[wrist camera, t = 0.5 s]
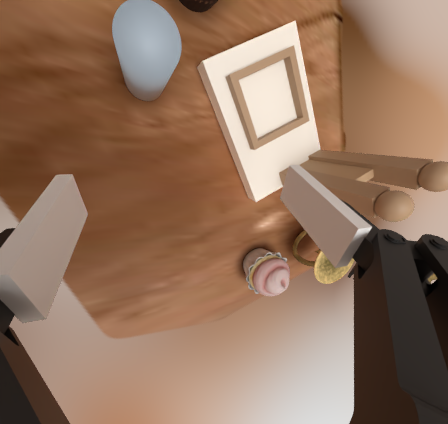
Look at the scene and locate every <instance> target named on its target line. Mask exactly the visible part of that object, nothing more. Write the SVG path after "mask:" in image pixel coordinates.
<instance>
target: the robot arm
mask: <svg viewBox="0 0 448 424" xmlns="http://www.w3.org/2000/svg"><path fill="white" fill-rule="evenodd" d="M280 199H281V201H282V202H283V203H284V204H285V206H286V207H287V208H288V209H289V211H290V212H291V213H292V214H293V216H294V217H295V218H296V219H297V221H298V222H299V223H300V225H301V226H302V227H303V228H304V230H305V231H306V232H307V233H308V235H309V236H310V237H311V238H312V240H313V241H314V242H315V243H316V245H317V246H318V247H319V248H320V250H321V251H322V252H323V253H324V255H325V256H326V257H327V258H328V260H329V261H330V262H331V263H332V265H333V266H334V267H335V268H338V267H344V266H348V264H349V262H350V261H351V259H352V258H353V259H354V260H355V261H356V262H357V263H356V264H355V266H354V267H353V269H352V270H351V272H350V273H349V275H348V277H349V278H350V277H351V276H352V275H353V274H354V278H353V279H354V412H353V416H352V418H351V421H350V423H349V424H448V242H447V241H445V240H444V239H443V238H440V237H438V236H434V235H429V234H425V235H422V236H421V238H420V239H419V240H418V241H408V240H406V239H405V238H404V237H403V236H402V235H400V234H398V233H396V232H394V231H391V230H386V229H382V230H379V229H378V228H377V227H376V226H375V225H373V224H372V223H371V222H370V221H369V220H367V219H366V218H365V217H364V216H363V215H360V213H359V212H358V211H357V210H355V209H354V208H353V207H352V206H351V205H349V204H348V203H346V202H344V201H343V200H341V199H339V198H337V197H336V196H335V195H334V194H333V193H332V192H330V191H329V190H328V189H327V188H326V187H325V186H323V185H322V184H321V183H320V182H319V181H317V180H316V179H315V178H314V177H313V176H312V175H310V174H309V173H308V172H307V171H306V170H305V169H303V168H302V167H301V166H300V165H289V168H288V171H287V175H286V179H285V182H284V186H283V189H282V193H281V197H280ZM87 216H88V213H87V210H86V208H85V205H84V203H83V200H82V197H81V195H80V192H79V190H78V187H77V184H76V182H75V179H74V177H73V174H65V175H56V176H55V177H54V179H53V180H52V181H51V182H50V184H49V185H48V186H47V188H46V189H45V190H44V192H43V193H42V194H41V196H40V197H39V198H38V199H37V201H36V202H35V203H34V205H33V206H32V207H31V209H30V210H29V211H28V213H27V214H26V215H25V217H24V218H23V219H22V220H21V222H20V223H19V224H18V226H17V227H16V228H11V229H6V230H4V231H3V232H2V233H0V424H70V423H69V421H68V420H67V418H66V416H65V415H64V413H63V411H62V410H61V408H60V406H59V405H58V403H57V401H56V400H55V398H54V397H53V395H52V393H51V391H50V390H49V388H48V387H47V385H46V383H45V382H44V380H43V378H42V377H41V375H40V374H39V372H38V370H37V368H36V367H35V365H34V363H33V362H32V360H31V358H30V357H29V355H28V354H27V352H26V350H25V349H24V347H23V345H22V344H21V342H20V341H19V339H18V337H17V335H16V334H15V332H14V330H12V328H10V327H9V325H10V323H11V321H12V319H13V317H14V315H15V316H16V317H17V318H18V319H19V320H20V321H21V322H22V323H27V322H32V321H38V320H44V319H46V318H47V316H48V313H49V310H50V308H51V306H52V303H53V301H54V298H55V296H56V293H57V291H58V288H59V285H60V283H61V281H62V278H63V276H64V273H65V271H66V268H67V266H68V263H69V261H70V258H71V256H72V253H73V251H74V248H75V246H76V243H77V241H78V238H79V236H80V233H81V231H82V228H83V226H84V223H85V221H86V218H87ZM433 274H435V275H436V277H437V280H436V281H435V282H434V283H432V284H431V283H430V282H429V281H428V278H429V277H430V276H432V275H433Z"/></svg>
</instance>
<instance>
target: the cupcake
mask: <svg viewBox="0 0 448 424" xmlns="http://www.w3.org/2000/svg"><path fill="white" fill-rule="evenodd" d="M286 261H287V258H283V257H281V254H280V253H276V252H270V251H268V250H265V249H262V248H258V249H254V250H252V251H251V252H249V253H248V254H247V256H246V257H245V259H244V262H243V268H244V271H245V274H246V280H247V282H248V287H249V289H251V290H254V291H255V293H256V294H257V293H261V294H263V295H265V296H275V295H278V294H281V293H282V292H283V291H284V290H285V289H287V287H288V285H289V275H290V269H289V266H288V264H287V263H286Z"/></svg>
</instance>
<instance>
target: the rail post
mask: <svg viewBox="0 0 448 424" xmlns="http://www.w3.org/2000/svg"><path fill="white" fill-rule="evenodd" d="M112 33H113V39H114V43H115V47H116V50H117V54H118V58H119V61H120V65H121V69H122V72H123V76H124V80H125V83H126V86H127V88H128V90H129V91H130V92H131V93H132V94H133V95H134V96H135V97H136V98H138V99H140V100H143V101H153V100H155V99H157V98H158V97H159V96H160V95H161V93H162V92H163V90H164V88H165V86H166V84H167V82H168V80H169V79H170V77H171V75H172V73H173V71H174V69H175V68H176V66H177V64H178V62H179V59H180V55H181V38H180V34H179V31H178V28H177V26H176V24H175V22H174V20H173V19H172V17H171V16H170V15H169V13H168V12H167V11H166V10H165V9H164V8H163V7H161V6H160V5H159V4H157V3H155V2H153V1H151V0H128V1H126V2H124V3H123V4H122V5H121V6H120V7H119V8H118V10H117V11H116V13H115V15H114V19H113V25H112Z"/></svg>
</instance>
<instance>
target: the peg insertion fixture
mask: <svg viewBox="0 0 448 424" xmlns="http://www.w3.org/2000/svg"><path fill="white" fill-rule="evenodd" d="M197 69H198V71H199V74H200V76H201V79H202V81H203V84H204V86H205V89H206V91H207V94H208V96H209V99H210V102H211V104H212V107H213V109H214V112H215V114H216V117H217V119H218V122H219V124H220V127H221V129H222V132H223V135H224V137H225V140H226V142H227V145H228V147H229V150H230V152H231V155H232V157H233V160H234V162H235V165H236V167H237V170H238V173H239V175H240V178H241V180H242V183H243V185H244V188H245V190H246V193H247V195H248V198H250V199H252V200H253V201H255V202H257V201H259V200H260V199H262V198H264V197H266V196H267V195H269V194H271V193H273V192H274V191H276V190H278V189H279V188H281V187H283V186H284V182H285V179H286V175H287V171H288V168H289V165H300V166H301V167H302V168H303V169H305V170H306V171H307V172H308V173H309V174H310V175H312V176H313V177H314V178H315V179H316V180H317V181H319V182H320V183H321V184H322V185H323V186H325V187H326V188H327V189H328V190H329V191H330V192H332V193H333V194H334V195H335V196H336V197H337V198H339V199H341V200H343V201H344V202H346V203H348V204H349V205H351V206H352V207H353V208H354V209H355V210H357V211H358V212H359V213H361V214H364V215H367V216H370V217H373V218H375V217H376V216H379V217H380V218H382V219H384V220H386V221H390V222H398V221H402V220H405V219H406V218H408V217H409V216H410V215H411V214H412V212H413V210H414V202H413V200H412V198H411V197H410V196H409V195H408V194H406V193H404V192H401V191H390V188H389V187H385V186H381V185H376V184H371V183H366V182H367V181H368V180H371V181H375V182H380V183H386V184H390V185H395V186H400V187H405V188H411V189H416V190H417V189H418V188H420V187H423V188H424V189H426V190H428V191H434V192H440V191H445V190H447V189H448V162H442V161H440V162H433V160H430V159H419V158H408V157H396V156H385V155H373V154H362V153H350V152H339V151H327V150H321V149H320V144H319V139H318V134H317V129H316V124H315V118H314V113H313V108H312V103H311V98H310V93H309V88H308V82H307V77H306V72H305V67H304V62H303V57H302V52H301V46H300V41H299V36H298V31H297V26H296V21H293V22H291V23H289V24H286V25H284V26H282V27H279V28H277V29H275V30H273V31H270V32H268V33H266V34H263V35H261V36H259V37H256V38H254V39H252V40H249V41H247V42H245V43H243V44H240V45H238V46H236V47H233V48H231V49H229V50H226V51H224V52H222V53H219V54H217V55H215V56H213V57H210V58H208V59H206V60H203V61H202V62H201V63H200V64H199V65H198V67H197Z"/></svg>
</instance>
